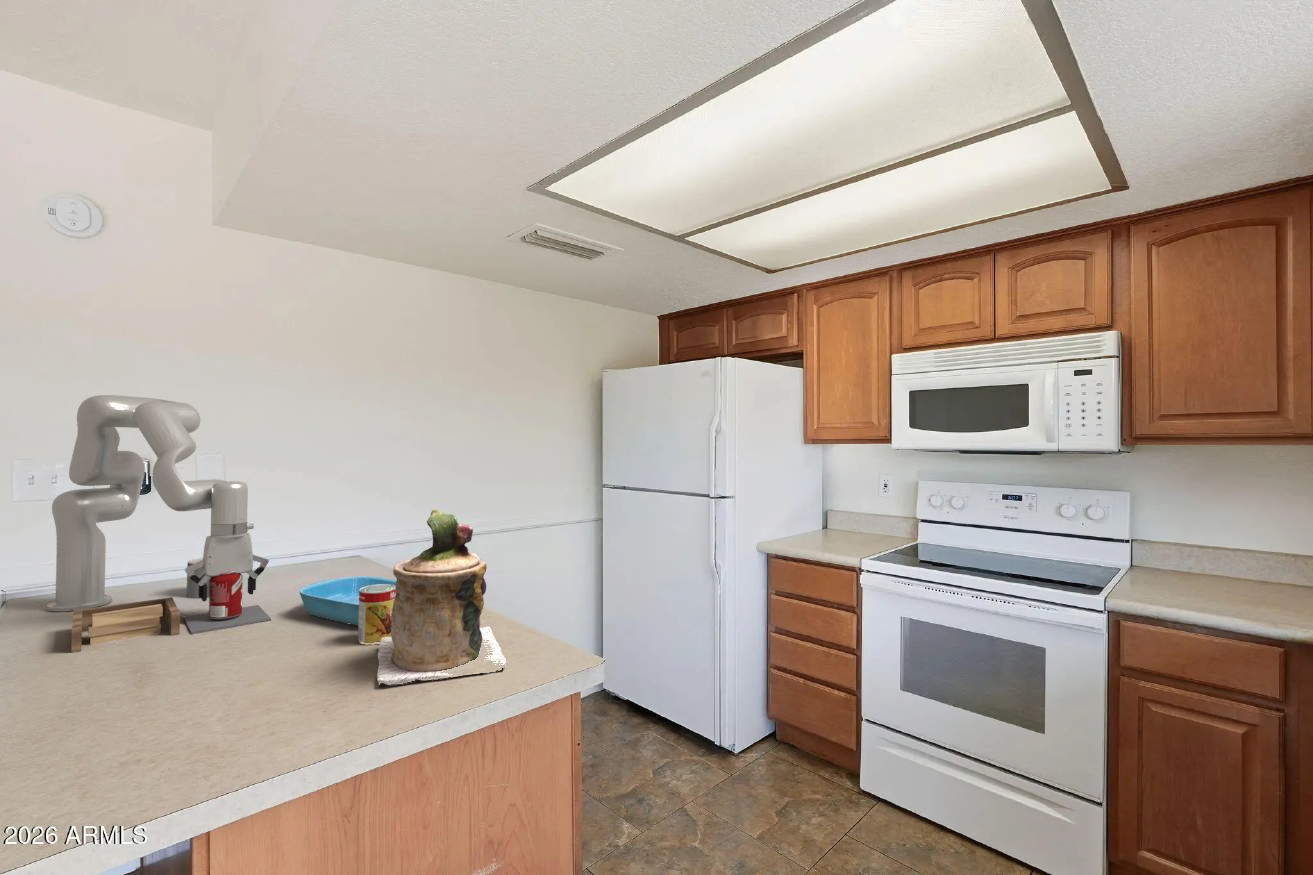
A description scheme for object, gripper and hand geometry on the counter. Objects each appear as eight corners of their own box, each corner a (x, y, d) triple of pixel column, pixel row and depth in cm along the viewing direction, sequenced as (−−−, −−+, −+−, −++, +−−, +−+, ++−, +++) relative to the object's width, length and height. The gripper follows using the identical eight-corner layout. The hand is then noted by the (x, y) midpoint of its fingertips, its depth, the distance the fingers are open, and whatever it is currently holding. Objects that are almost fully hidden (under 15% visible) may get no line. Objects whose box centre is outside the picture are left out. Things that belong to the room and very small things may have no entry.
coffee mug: (184, 593, 172) (185, 559, 172) (225, 587, 179) (226, 555, 179) (191, 602, 162) (192, 567, 162) (234, 596, 169) (235, 562, 170)
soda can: (224, 622, 144) (225, 574, 144) (201, 620, 146) (202, 572, 146) (248, 614, 151) (249, 568, 151) (226, 612, 152) (227, 567, 152)
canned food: (401, 639, 136) (402, 588, 136) (366, 647, 130) (367, 594, 130) (387, 631, 141) (388, 582, 141) (352, 639, 136) (353, 587, 136)
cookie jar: (374, 691, 108) (377, 520, 109) (378, 647, 131) (381, 505, 131) (508, 672, 118) (511, 515, 119) (491, 634, 141) (493, 502, 141)
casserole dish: (451, 612, 158) (452, 586, 159) (385, 637, 138) (385, 607, 138) (354, 596, 173) (354, 572, 173) (280, 616, 152) (281, 589, 152)
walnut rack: (73, 631, 137) (73, 610, 137) (171, 616, 150) (172, 597, 150) (71, 652, 125) (71, 629, 125) (179, 633, 137) (179, 612, 137)
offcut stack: (87, 640, 132) (88, 614, 132) (160, 628, 141) (160, 604, 141) (88, 646, 129) (88, 619, 129) (162, 633, 138) (163, 608, 138)
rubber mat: (183, 618, 149) (183, 616, 149) (258, 606, 160) (258, 604, 160) (191, 634, 137) (191, 632, 137) (271, 620, 148) (271, 618, 148)
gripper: (265, 525, 157) (264, 588, 157) (183, 531, 145) (182, 599, 145) (272, 528, 152) (270, 593, 152) (187, 535, 140) (186, 606, 140)
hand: (227, 596), depth 148 cm, fingers open, 9 cm apart
